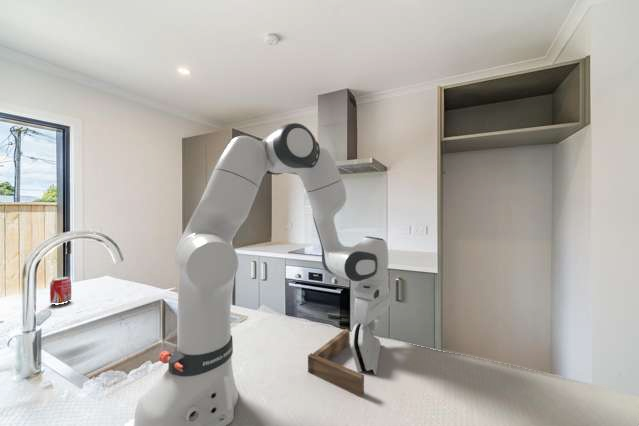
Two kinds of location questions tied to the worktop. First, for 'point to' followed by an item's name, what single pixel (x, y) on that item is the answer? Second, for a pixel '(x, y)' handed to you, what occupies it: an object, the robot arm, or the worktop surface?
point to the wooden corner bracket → (336, 365)
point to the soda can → (60, 290)
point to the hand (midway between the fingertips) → (374, 328)
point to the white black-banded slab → (365, 348)
